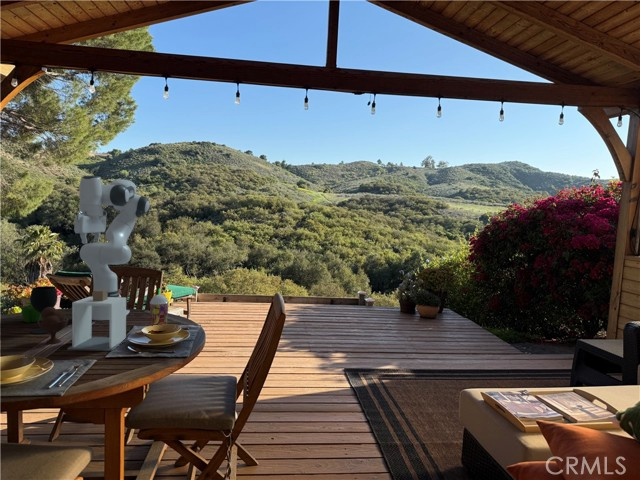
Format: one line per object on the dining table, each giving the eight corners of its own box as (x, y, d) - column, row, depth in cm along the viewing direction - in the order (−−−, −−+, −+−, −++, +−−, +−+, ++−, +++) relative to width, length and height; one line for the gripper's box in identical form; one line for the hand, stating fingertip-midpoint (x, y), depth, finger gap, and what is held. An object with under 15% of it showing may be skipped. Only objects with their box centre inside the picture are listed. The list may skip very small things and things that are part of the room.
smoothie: (154, 328, 204) (154, 286, 203) (171, 328, 204) (171, 287, 203) (146, 332, 196) (146, 289, 194) (164, 333, 195) (164, 290, 194)
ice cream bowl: (54, 347, 171) (54, 310, 170) (31, 344, 173) (30, 308, 172) (74, 339, 181) (74, 305, 180) (52, 337, 183) (52, 303, 183)
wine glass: (45, 327, 199) (45, 285, 198) (62, 329, 196) (62, 286, 195) (24, 332, 190) (24, 288, 189) (42, 335, 187) (42, 290, 186)
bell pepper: (43, 319, 214) (43, 299, 214) (41, 322, 207) (41, 302, 207) (23, 320, 211) (23, 300, 210) (20, 324, 203) (20, 303, 203)
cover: (89, 337, 183) (89, 287, 182) (125, 338, 183) (126, 288, 182) (72, 346, 170) (72, 292, 169) (111, 348, 170) (111, 293, 169)
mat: (88, 338, 184) (88, 336, 184) (130, 339, 184) (130, 338, 184) (67, 349, 168) (67, 348, 168) (112, 350, 169) (112, 349, 168)
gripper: (85, 211, 178) (84, 244, 179) (108, 212, 198) (108, 241, 199) (69, 211, 178) (69, 244, 179) (95, 212, 198) (95, 241, 199)
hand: (90, 242), depth 189 cm, fingers open, 8 cm apart
